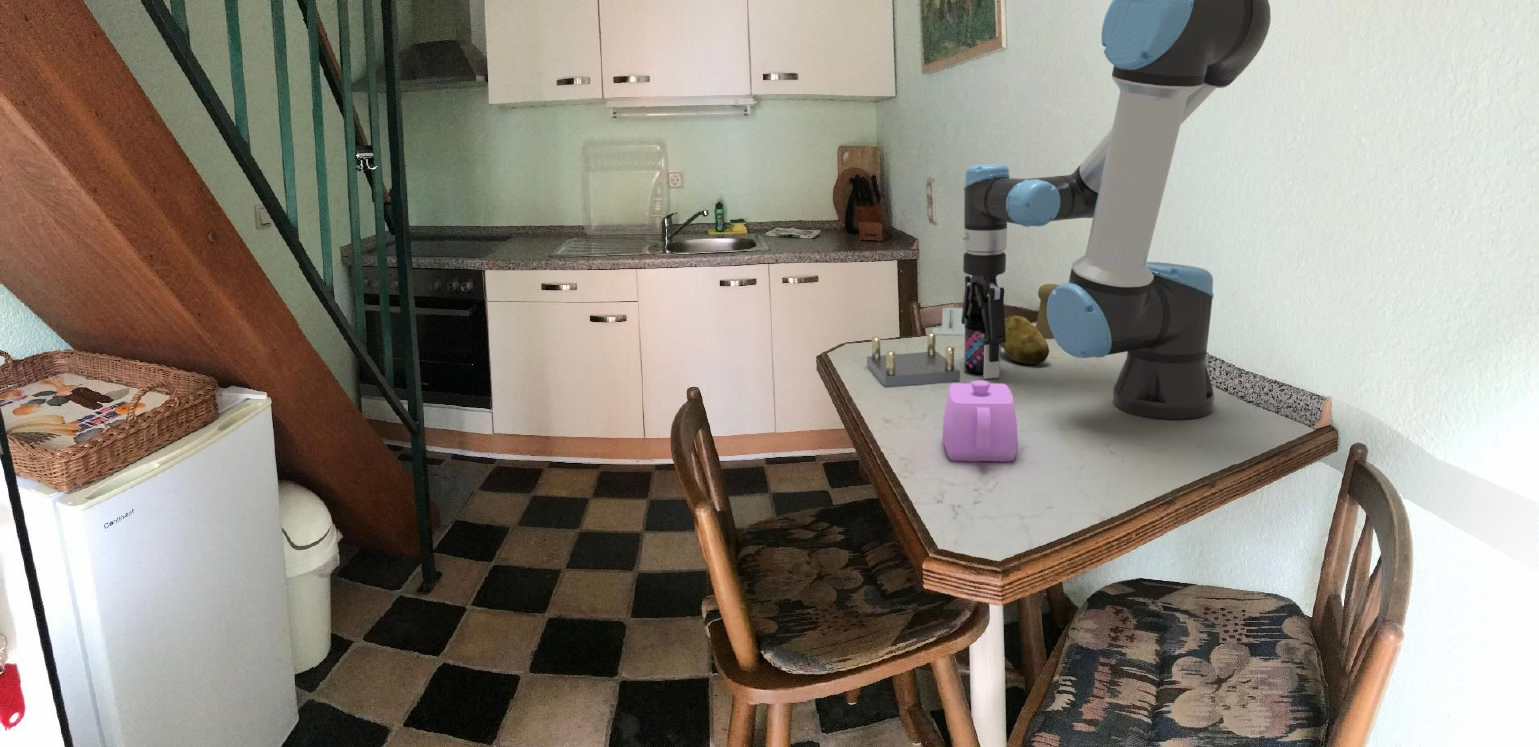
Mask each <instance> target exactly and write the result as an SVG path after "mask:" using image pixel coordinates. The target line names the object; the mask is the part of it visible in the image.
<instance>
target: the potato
mask: <svg viewBox="0 0 1539 747" xmlns="http://www.w3.org/2000/svg"><path fill="white" fill-rule="evenodd" d="M1005 333H1006V342H1005V343H1001V348H1002V349H1003V350H1004V353H1006V356H1007V357H1008V358H1009V359H1010V360H1012V361H1014V362H1017V363H1019V364H1024V365H1025V364H1026V365H1027V364H1028V365H1039V364H1041V363H1043V362H1044V361H1046V360H1047V358H1048V356H1049V354H1050V349H1049V344H1048V342H1047V341H1046V338H1043V336H1042V335H1041V333H1040V331H1039V330H1038V329H1037V328H1036V325H1035V324H1032V323H1031V322H1030V321H1029V320H1028V319H1027V318H1026V317H1023V316H1020V315H1009V316H1007V317H1005Z"/></svg>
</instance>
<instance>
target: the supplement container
mask: <svg viewBox="0 0 1539 747" xmlns="http://www.w3.org/2000/svg"><path fill="white" fill-rule="evenodd" d="M964 326H965V336H964V343H963V344H964V346H963V347H964V348H963V350H964V353H963V369H964V371H965V372H966V373H967V372H968V374H969V373H970V375H972V374H974V375H973V376H979V375H984V345H983V342H984V341H986V334H985V327H984V320H983V314H971V315H967V316H965V325H964ZM1001 348H1002V347H1001V344H1000V356H1001V353H1002V352H1001V350H1002V349H1001ZM1000 369H1001V364H1000V365H999V371H1000Z"/></svg>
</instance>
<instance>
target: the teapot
mask: <svg viewBox="0 0 1539 747" xmlns="http://www.w3.org/2000/svg"><path fill="white" fill-rule="evenodd" d="M944 407H945V409H944V415H943V423H942V439H943V444H944V448H945V452H946V454H947V457H948V459H949V460H950V461H952V462H965V461H997V462H996V463H1011V462H1010V461H1012V462H1013V461H1014V459H1015V457H1016V454H1017V450H1018V422H1017V415H1016V413H1017V412H1016V407H1015V402H1014V397H1013V394H1012V391H1011V389H1010V387H1009V386H1008V385H1007V384H1005V383H990V382H989V381H986V380H974V381H973V380H971V381H970V383H968V382H966V383H963V382H959V383H951V384H950V385H949V388H948V392H947V397H946V402H945V406H944ZM998 461H1000V462H998ZM1007 461H1008V462H1007Z"/></svg>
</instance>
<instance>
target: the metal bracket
mask: <svg viewBox="0 0 1539 747" xmlns="http://www.w3.org/2000/svg"><path fill="white" fill-rule="evenodd" d="M962 311H963V307H954V306H953V304H949V307H943V308H942V319H941V328H940V327H937V328H936V327H935V328H934V327H933V328H932V333H936V337H937V336H938V337H939V336H941V337H949V336H953V337H958V336H959V337H961V336H960V335H963V334H965V327H964V325H965V324H962V322H961V320H962ZM982 314H983V313H982ZM957 333H959V334H957Z"/></svg>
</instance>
